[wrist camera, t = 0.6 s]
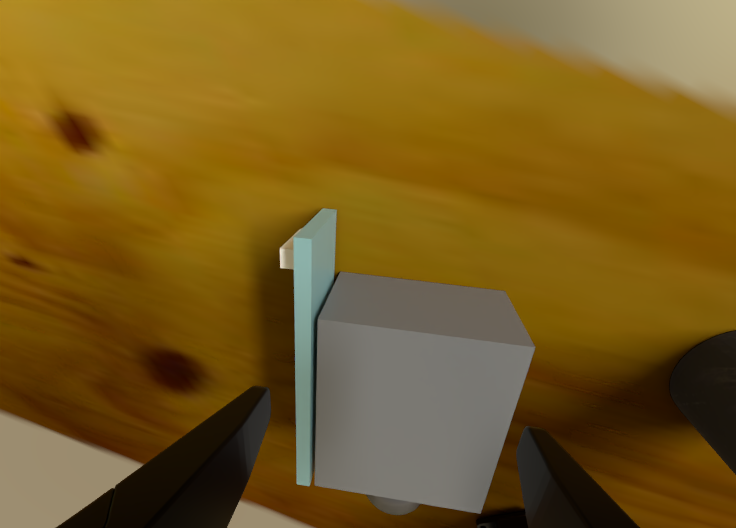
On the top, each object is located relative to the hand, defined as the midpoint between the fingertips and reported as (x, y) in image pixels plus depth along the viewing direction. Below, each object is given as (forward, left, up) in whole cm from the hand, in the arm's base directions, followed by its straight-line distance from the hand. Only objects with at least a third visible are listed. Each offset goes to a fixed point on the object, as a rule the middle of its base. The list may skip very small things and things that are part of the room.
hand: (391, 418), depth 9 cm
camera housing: (-9, +3, -13) cm, 16 cm away
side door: (-3, +7, -12) cm, 14 cm away
